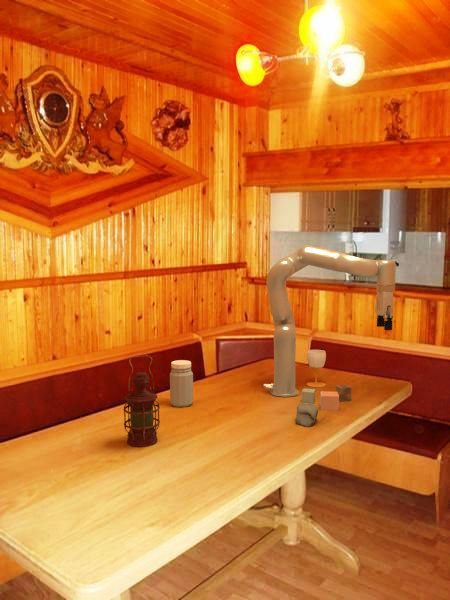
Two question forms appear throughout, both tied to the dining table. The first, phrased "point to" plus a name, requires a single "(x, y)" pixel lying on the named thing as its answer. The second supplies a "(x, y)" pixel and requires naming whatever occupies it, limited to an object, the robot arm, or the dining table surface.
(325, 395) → the terracotta block
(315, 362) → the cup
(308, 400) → the greygreen block
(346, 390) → the walnut block
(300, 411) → the stone
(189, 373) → the jar
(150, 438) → the lantern
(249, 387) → the dining table surface
